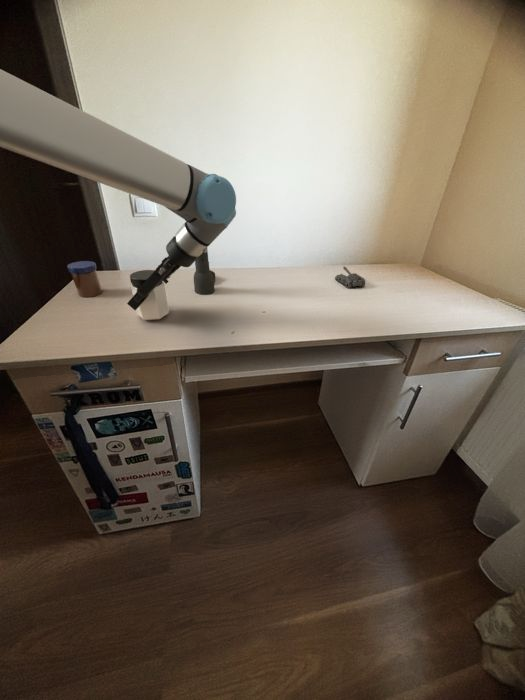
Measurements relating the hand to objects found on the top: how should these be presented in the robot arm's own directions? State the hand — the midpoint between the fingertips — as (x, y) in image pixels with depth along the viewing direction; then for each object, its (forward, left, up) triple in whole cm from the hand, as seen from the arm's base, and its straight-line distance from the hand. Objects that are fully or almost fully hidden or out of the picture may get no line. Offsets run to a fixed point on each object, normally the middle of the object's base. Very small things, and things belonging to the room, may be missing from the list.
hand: (140, 299), depth 82 cm
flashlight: (+24, +8, -5) cm, 26 cm away
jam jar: (-10, +26, -5) cm, 28 cm away
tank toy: (+77, -15, -5) cm, 79 cm away
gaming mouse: (+29, +16, -5) cm, 34 cm away
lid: (-10, +26, +5) cm, 28 cm away
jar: (+2, -2, -4) cm, 5 cm away
